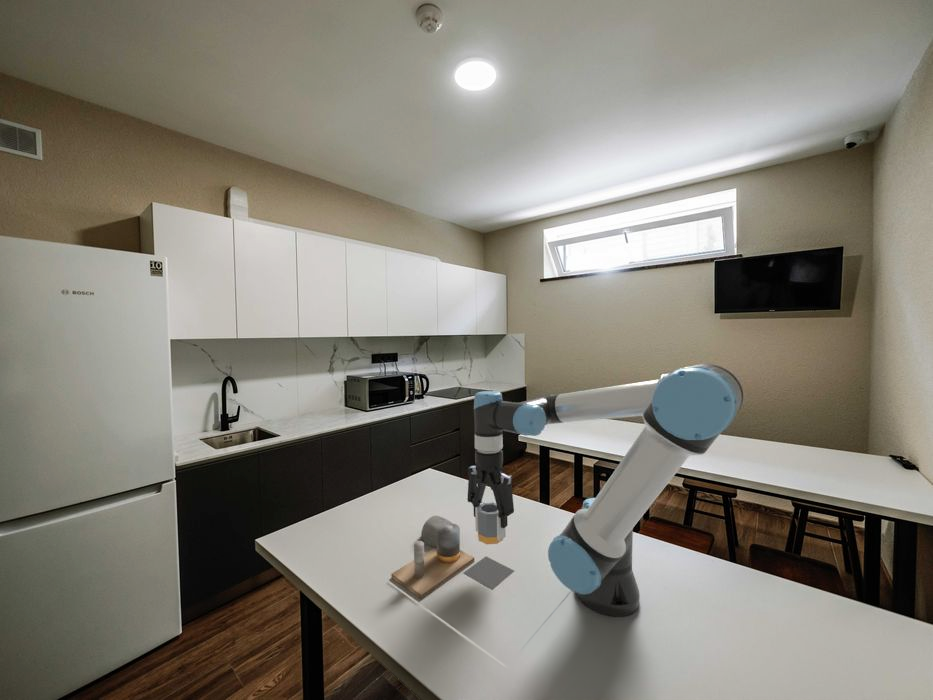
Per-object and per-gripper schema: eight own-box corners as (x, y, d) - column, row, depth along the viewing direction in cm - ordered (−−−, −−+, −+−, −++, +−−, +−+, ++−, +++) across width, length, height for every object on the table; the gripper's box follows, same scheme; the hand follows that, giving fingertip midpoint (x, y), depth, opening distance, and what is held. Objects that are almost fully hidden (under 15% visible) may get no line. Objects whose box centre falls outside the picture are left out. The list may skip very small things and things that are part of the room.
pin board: (474, 562, 105) (474, 528, 104) (421, 600, 90) (421, 560, 89) (444, 546, 113) (444, 514, 112) (391, 579, 98) (391, 542, 97)
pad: (514, 572, 101) (514, 570, 101) (492, 591, 93) (492, 589, 93) (485, 557, 107) (485, 556, 107) (463, 574, 100) (462, 572, 100)
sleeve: (507, 536, 100) (507, 507, 99) (492, 547, 95) (492, 516, 94) (488, 528, 104) (487, 500, 104) (473, 538, 99) (472, 508, 99)
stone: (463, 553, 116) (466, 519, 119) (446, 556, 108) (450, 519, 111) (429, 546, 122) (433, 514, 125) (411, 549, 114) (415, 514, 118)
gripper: (527, 452, 95) (529, 540, 96) (470, 440, 108) (471, 517, 109) (511, 460, 89) (512, 553, 90) (452, 446, 102) (454, 527, 103)
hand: (490, 533), depth 99 cm, fingers closed on sleeve, 7 cm apart
